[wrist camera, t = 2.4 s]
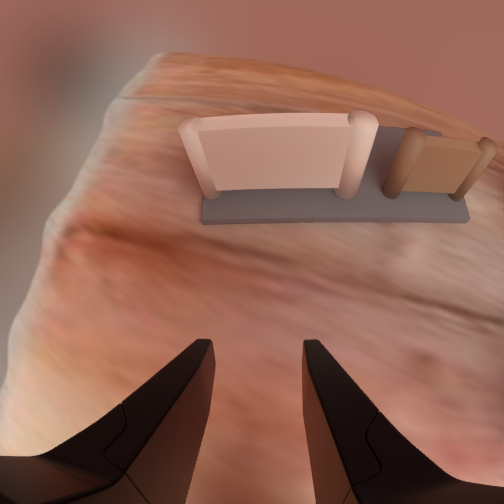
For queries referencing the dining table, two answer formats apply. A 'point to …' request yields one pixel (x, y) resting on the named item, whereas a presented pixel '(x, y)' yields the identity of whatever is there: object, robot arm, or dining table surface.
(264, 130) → the fence gate
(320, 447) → the robot arm
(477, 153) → the board
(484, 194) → the dining table surface
